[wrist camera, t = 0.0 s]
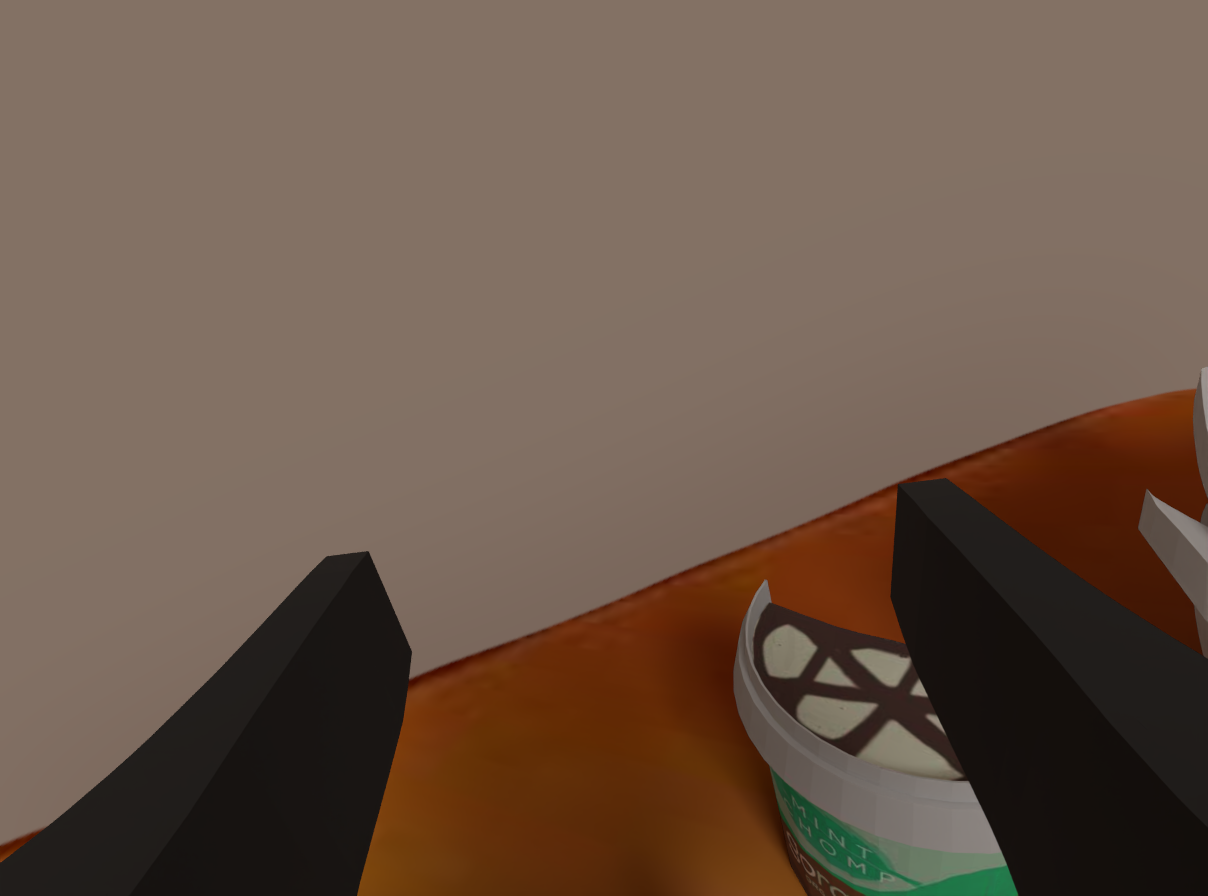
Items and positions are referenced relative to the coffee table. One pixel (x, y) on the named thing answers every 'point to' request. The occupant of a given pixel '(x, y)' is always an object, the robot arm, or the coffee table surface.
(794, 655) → the food container
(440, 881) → the coffee table surface
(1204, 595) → the decorative bowl
